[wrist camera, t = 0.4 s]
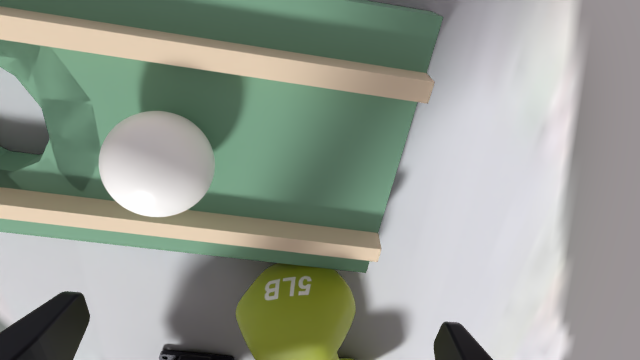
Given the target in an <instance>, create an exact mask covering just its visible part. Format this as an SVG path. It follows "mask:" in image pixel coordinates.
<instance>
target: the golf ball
mask: <svg viewBox="0 0 640 360" xmlns="http://www.w3.org/2000/svg"><path fill="white" fill-rule="evenodd" d="M214 171H215V158H214V154H213V150H212V147H211V144H210V143H209V141H208V139H207V137H206V136H205V134H204V133H203V132H202V131H201V130H200V129H199V128H198V127H197V126H196V125H195V124H194V123H192V122H191V121H189V120H188V119H186V118H184V117H182V116H180V115H177V114H174V113H170V112H165V111H147V112H141V113H138V114H135V115H132V116H130V117H128V118H126V119H124V120H123V121H121V122H120V123H118V124H117V125H116V126H115V127H114V128H113V129H112V130H111V131H110V132H109V134H108V135H107V137H106V138H105V140H104V142H103V144H102V146H101V150H100V154H99V172H100V176H101V180H102V182H103V185H104V187H105V188H106V190H107V191H108V193H109V194H110V195H111V197H112V198H113V199H114V200H115V201H116V202H117V203H118V204H120V205H121V206H123V207H124V208H126V209H127V210H129V211H131V212H134V213H136V214H139V215H143V216H149V217H167V216H172V215H176V214H179V213H181V212H184V211H186V210H188V209H189V208H191V207H193V206H194V205H195V204H196V203H198V202H199V201H200V200H201V199H202V198H203V196H204V195H205V194H206V192H207V191H208V189H209V187H210V185H211V183H212V180H213V177H214Z"/></svg>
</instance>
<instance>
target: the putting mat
mask: <svg viewBox="0 0 640 360" xmlns="http://www.w3.org/2000/svg"><path fill="white" fill-rule="evenodd" d="M442 20H443V17H442V16H440V15H438V14H436V13H434V12H432V11H426V10H420V9H414V8H408V7H403V6H397V5H391V4H385V3H379V2H373V1H367V0H0V67H1V68H3V69H4V70H6V71H8V72H9V73H11V74H13V75H14V76H16V78H17V79H18V80H19V81H20V82H21V84H22V85H23V86H24V87H25V88H26V90H27V91H28V92H29V93H30V95H31V96H32V97H33V98H34V99H35V101H36V102H37V103H38V104H39V105H40V107H41V108H42V111H43V115H44V119H45V123H46V127H47V130H48V134H49V138H50V139H49V142H48V144H47V146H46V148H45V151H44V153H42V154H40V155H37V154H29V153H21V152H14V151H8V150H6V149H4V148H3V147H1V146H0V232H7V233H16V234H25V235H33V236H42V237H51V238H60V239H69V240H78V241H87V242H96V243H105V244H113V245H122V246H131V247H140V248H149V249H158V250H167V251H176V252H185V253H193V254H202V255H211V256H220V257H229V258H238V259H247V260H256V261H265V262H273V263H282V264H291V265H300V266H309V267H318V268H327V269H336V270H345V271H353V272H362V273H366V271H367V268H368V264H369V261H374V262H378V259H379V256H380V252H381V245H380V240H379V235H378V231H379V228H380V225H381V222H382V218H383V215H384V212H385V208H386V205H387V202H388V198H389V195H390V192H391V188H392V185H393V182H394V179H395V175H396V172H397V169H398V165H399V162H400V159H401V155H402V152H403V149H404V146H405V142H406V139H407V136H408V132H409V129H410V126H411V122H412V119H413V116H414V112H415V109H416V106H417V103H418V102H421V103H427V104H428V102H429V99H430V96H431V92H432V89H433V86H434V83H435V82H434V81H433V80H432V79H431V78H430V76H429V75H428V74H427V69H428V66H429V63H430V60H431V56H432V53H433V50H434V46H435V43H436V40H437V36H438V33H439V30H440V27H441V23H442ZM147 111H165V112H170V113H174V114H177V115H180V116H182V117H184V118H186V119H188V120H189V121H191V122H192V123H194V124H195V125H196V126H197V127H198V128H199V129H200V130H201V131H202V132H203V133H204V134H205V136H206V137H207V139H208V141H209V143H210V144H211V147H212V150H213V154H214V158H215V171H214V177H213V180H212V183H211V185H210V187H209V189H208V191H207V192H206V194H205V195H204V196H203V198H202V199H201V200H200V201H199V202H198V203H196V204H195V205H194V206H193V207H191V208H189V209H188V210H186V211H184V212H181V213H179V214H176V215H172V216H167V217H149V216H143V215H139V214H136V213H134V212H131V211H129V210H127V209H126V208H124V207H123V206H121V205H120V204H118V203H117V202H116V201H115V200H114V199H113V198H112V197H111V195H110V194H109V193H108V191H107V190H106V188H105V187H104V185H103V182H102V180H101V176H100V172H99V154H100V150H101V146H102V144H103V142H104V140H105V138H106V137H107V135H108V134H109V132H110V131H111V130H112V129H113V128H114V127H115V126H116V125H117V124H118V123H120V122H121V121H123V120H124V119H126V118H128V117H130V116H132V115H135V114H138V113H141V112H147Z"/></svg>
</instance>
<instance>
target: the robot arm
mask: <svg viewBox="0 0 640 360" xmlns="http://www.w3.org/2000/svg"><path fill="white" fill-rule="evenodd" d="M89 319H90V314H89V310H88V307H87V304H86V301H85V298H84V295H83V294H82V293H80V292H68V291H67V292H62V293H60V294H58V295H57V296H55V297H54V298H52V299H51V300H49V301H47V302H46V303H44V304H43V305H41V306H40V307H38V308H37V309H35V310H34V311H32V312H31V313H29V314H28V315H26V316H25V317H23V318H21V319H20V320H18V321H17V322H15V323H14V324H12V325H11V326H9V327H8V328H6V329H5V330H3V331H2V332H0V360H73V358H74V356H75V354H76V351H77V349H78V347H79V345H80V342H81V340H82V338H83V335H84V333H85V331H86V328H87V326H88V323H89ZM434 354H435V360H493V359H492V358H491V357H490V356H489V355H488V354H487V352H486V351H485V350H484V349H483V348H482V347H481V346H480V345H479V343H478V342H477V341H476V340H475V339H474V338H473V337H472V336H471V334H470V333H469V332H468V331H467V330H466V329H465V328H464V327H463V326H462V325H461V324H460V323H457V322H444V323H443V324H442V325H441V327H440V330H439V332H438V334H437V336H436V339H435V341H434ZM159 360H235V359H234V358H233V357H231V356H223V355H212V354H201V353H191V352H180V351H169V350H163V351H162V352H161V353H160V356H159Z"/></svg>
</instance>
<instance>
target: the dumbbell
mask: <svg viewBox="0 0 640 360" xmlns="http://www.w3.org/2000/svg"><path fill="white" fill-rule="evenodd" d="M355 311H356V305H355V301H354V298H353V294H352V291H351V289H350V288H349V286H348V284H347V283H346V282H345V281H344V279H343V278H342V277H341V276H340V275H339V274H338V272H337V271H336V270H335V269H327V268H318V267H309V266H300V265H291V264H282V263H278V264H274V265H272V266H270V267H268V268H267V269H265V270H264V271H263V272H262V273H261V274H260V275H259V277H258V278H257V279H256V280H255V281H254V283H253V284H252V285H251V286H250V287H249V289H248V290H247V291H246V292H245V294H244V295H243V296H242V298H241V300H240V301H239V303H238V305H237V307H236V319H237V322H238V325H239V328H240V330H241V333H242V335H243V338H244V340H245V342H246V344H247V346H248V348H249V349H250V351H251V353H252V355H253V356H254V358H255V360H354V359H351V358H339V357H338V354H337V351H338V349H339V347H340V346H341V344H342V342H343V341H344V339H345V337H346V335H347V333H348V331H349V329H350V327H351V324H352V322H353V319H354V316H355Z"/></svg>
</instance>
